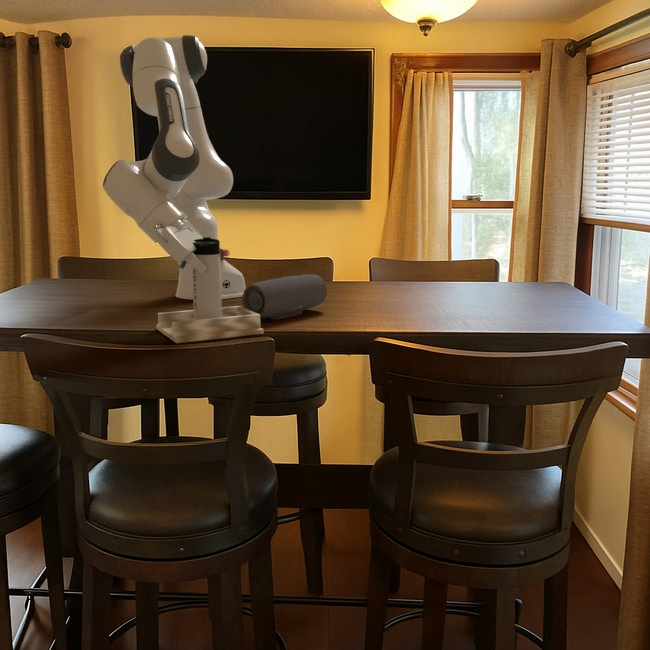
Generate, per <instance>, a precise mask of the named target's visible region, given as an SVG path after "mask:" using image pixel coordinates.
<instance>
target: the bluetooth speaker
mask: <svg viewBox="0 0 650 650" xmlns="http://www.w3.org/2000/svg"><path fill="white" fill-rule="evenodd" d="M245 287H246V289H245V290H244V293H243V297H241V298H242V299H241V303H242V307H244V308H246V309H249V310H251V311H253V312H255V313H258V314H260V319H266V318H269V319H270V320H282V319H287V317H288V318H292V316H293V317H296V315H297V316H300V315H302V314H303V311H305V310H309V309H311V308H315V307H317V306H319V305H321V304H323V303H324V301H325V300H326V299H327V295H328V290H327V285H326V283H325V281H324V279H323V277H322V276H320V275H318V274H297V275H291V276H290V275H289V276H282V277H276V278H271V279H268V280H267V279H266V280H262V281H258V282H254V283H252V284H249V285H247V286H245ZM299 314H300V315H299Z"/></svg>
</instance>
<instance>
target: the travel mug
mask: <svg viewBox="0 0 650 650" xmlns="http://www.w3.org/2000/svg"><path fill="white" fill-rule="evenodd" d="M194 241H195V243H193V244H194V245H195V247H196V250H195V251H193V253H194V254H195V255H196V257H197V258H198V259H199V260H200V261H201V262H204V263H205V265H207V267H208V268H207V269H206V270H205V271H204V272H203V273H200V272H199V271H198V270H197V269H196V268H194V267H193V266H192V276H193V299H192V300H193V310H194V320H199V319H210V318H220V317H222V307H223V305H222V303H223V301H222V299H221V266H220V250H219V249H220V248H221V246H220V243H221V242H220V240H219V239H218V240H217V239H211V237H203V239H196V240H194Z"/></svg>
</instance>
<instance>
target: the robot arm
mask: <svg viewBox="0 0 650 650" xmlns="http://www.w3.org/2000/svg"><path fill="white" fill-rule="evenodd" d="M207 65H208V54H207V50H206V49H205V47H204V45H203V43H202V41H201V39H200V38H199V37H197V36H196V35H190V34H186V35H185V34H183V36H169V37H161V38H159V37H153V36H152V37H147V38H144V39H142V40H141V41H139V43H138V44H132V45H129V46H127V47H124V48H123V50H122V51H121V53H120V55H119V69H120V72H121V74H122V77H123V79H124V80H125V82H126V84H127V85H129V86H130V87H132V90H133V91H132V92H133V97H134V99H135V103H136V106H137V107H138V108H139V109H140V110H141V111H142V112H144V113H145V114H147V115H149V116H153V117H156V118H157V121H158V129H159V130H158V131H159V132H158V135H157V137H156V139H155V141H154V144H153V146H152V149H151V151H150V153H149V155H148V157H147V158H145V159H143V160H138V161H137V160H136V161H127V160H124V159H118V160H117V161H116V162H114V164H113V165H112V166H111V167H110V168H109V169H108V171H107V173H106V174H105V176H104V178H103V182H102V188H103V190H104V192H105V193H106V195H107V196H108V197H109V199H110V200H111V201H112V202H113V203H114V204H115V205H116V206H117V207H118V208H119V210H121V212H123V213H124V214H125V215H126V216H128V217H129V218H131V219H132V220H133V221H134V222H135V224H136V225H137V226H138V228H139V229H141V231H142V232H144V234H145V235H147V236H148V238H150V240H152V241H153V242H154V243H155V244H156V243H158V245H159V246H160V247H161V248H162V249H163V250H164V251H165V252H166V253H167V254H168V255H169V256H170V258H171V259H173V261H175V262H177V263H178V268H179V271H178V273H179V274H178V282H177V289H176V293H175V297H176V298H178V299H183V300H193V276H192V266H193V267H194V268H196V269H197V270H198V271H199V272H200V273H203V272H204V271H205V270H206V269H207V268H208V267H207V265H205V263H204V262H201V261H200V260H199V259H198V258H197V257H196V255H195V254H194V253H193V251H195V250H196V247H195V245H194V244H193V243H195V241H194V240H196V239H203V237H211V239H217V240H219V239H218V238H219V235H218V233H219V231H218V221H217V218H216V217H215V216H214V215H213V214H212V212H211V210H210V208H209V206H208V203H207V201H209V200H211V201H212V200H216V199H220V198H224V197H225V196H227V195H228V194H229V193H230V192H231V190H232V188H233V185H234V175H233V171H232V170H231V168H230V166H228V164H226V163H225V162H224V161H223V160H222V159H221V158H220V157H219V154H218V153H217V152H216V150H215V148H214V145H213V144H212V141H211V140H210V138H209V134H208V132H207V128H206V124H205V120H204V116H203V111H202V107H201V103H200V98H199V95H198V91H197V88H196V85H195V84H197V83H198V81H199V79H200V78H202V77H203V76H204V75H205V73H206V71H207ZM219 250H220V266H221V300H226V299H233V298H234V299H235V298H242V297H243V293H244V290H245V289H246V287H247V286H246V282H245V278H244V275H243V273H242V272H241V271H239V270H238V269H237V268H236V267H234V266H233V265H232V264H230V263H229V262H228V261H227V260H225V257H229V256H230V254H231V252H230V250H229V249H225V248H224V249H223V248H221V247H220V249H219Z"/></svg>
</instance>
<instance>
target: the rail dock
mask: <svg viewBox="0 0 650 650" xmlns="http://www.w3.org/2000/svg"><path fill="white" fill-rule="evenodd" d="M157 321H158V322H157V324H155V325H156V327H155V328H156V330H158V331H159V332H160V333H162V335H164V336H166V337H167V338H169V339H170V340H171V341H173V342H174V343H176V344H182V343H191V342H201V341H208V340H219V339H227V338H236V337H244V336H255V335H262V334H263V335H264V333H265V332H264V331H265V329H264V328H262V327H261V318H260V314H258V313H255V312H253V311H251V310H249V309H246V308H244V307H243V305H234V306H233V305H232V306H224V307H223V306H222V317H220V318H210V319H199V320H194V309H190V310H189V309H188V310H177V311H167V312H165V311H164V312H157Z"/></svg>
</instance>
